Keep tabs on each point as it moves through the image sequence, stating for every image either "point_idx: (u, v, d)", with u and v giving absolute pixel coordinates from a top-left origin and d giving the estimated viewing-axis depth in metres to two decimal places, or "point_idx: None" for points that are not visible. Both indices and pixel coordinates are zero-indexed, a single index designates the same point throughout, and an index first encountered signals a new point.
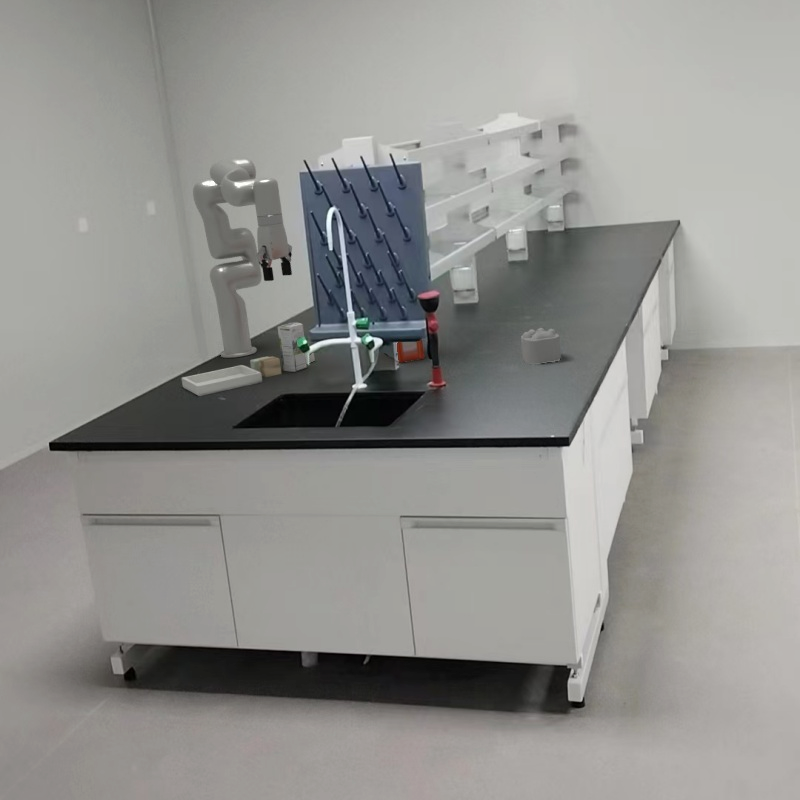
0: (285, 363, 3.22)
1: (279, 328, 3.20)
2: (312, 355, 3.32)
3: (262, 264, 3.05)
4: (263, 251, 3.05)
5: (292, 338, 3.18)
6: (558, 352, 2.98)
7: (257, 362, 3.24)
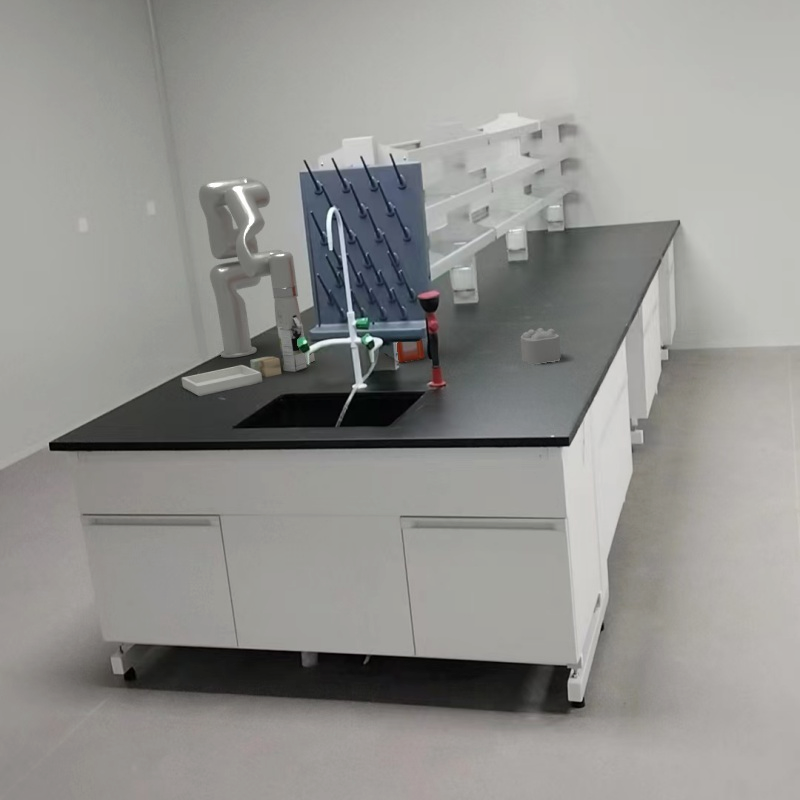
0: (285, 363, 3.22)
1: (279, 328, 3.20)
2: (312, 355, 3.32)
3: (298, 334, 3.16)
4: None
5: None
6: (558, 352, 2.98)
7: (257, 362, 3.24)
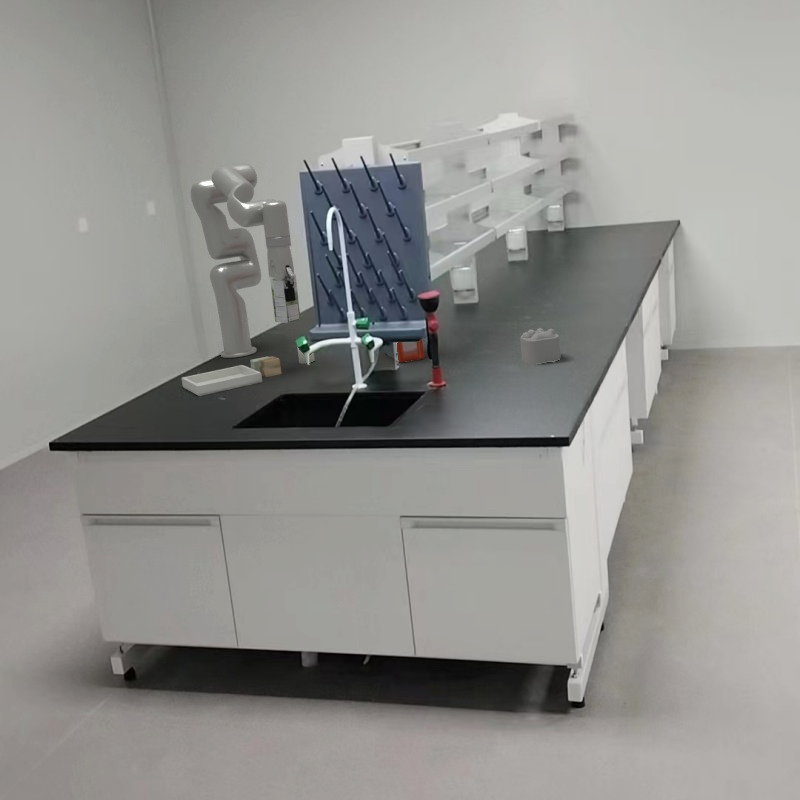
0: (278, 314, 3.19)
1: (272, 278, 3.16)
2: (312, 355, 3.32)
3: (291, 285, 3.12)
4: None
5: None
6: (558, 352, 2.98)
7: (257, 362, 3.24)
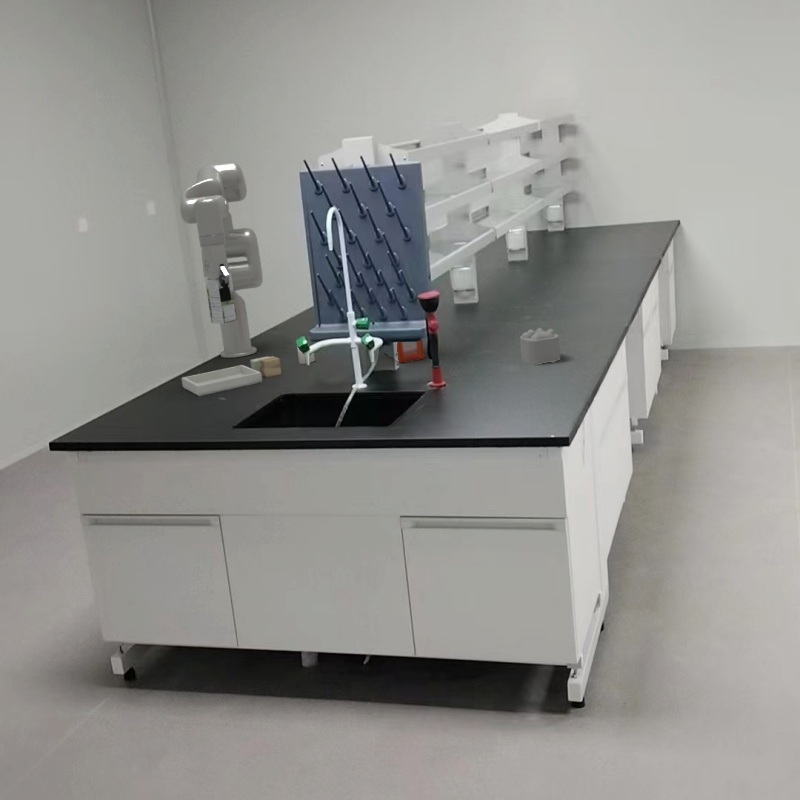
0: (213, 314, 3.09)
1: (206, 278, 3.07)
2: (312, 355, 3.32)
3: (225, 284, 3.03)
4: None
5: None
6: (558, 352, 2.98)
7: (256, 362, 3.24)
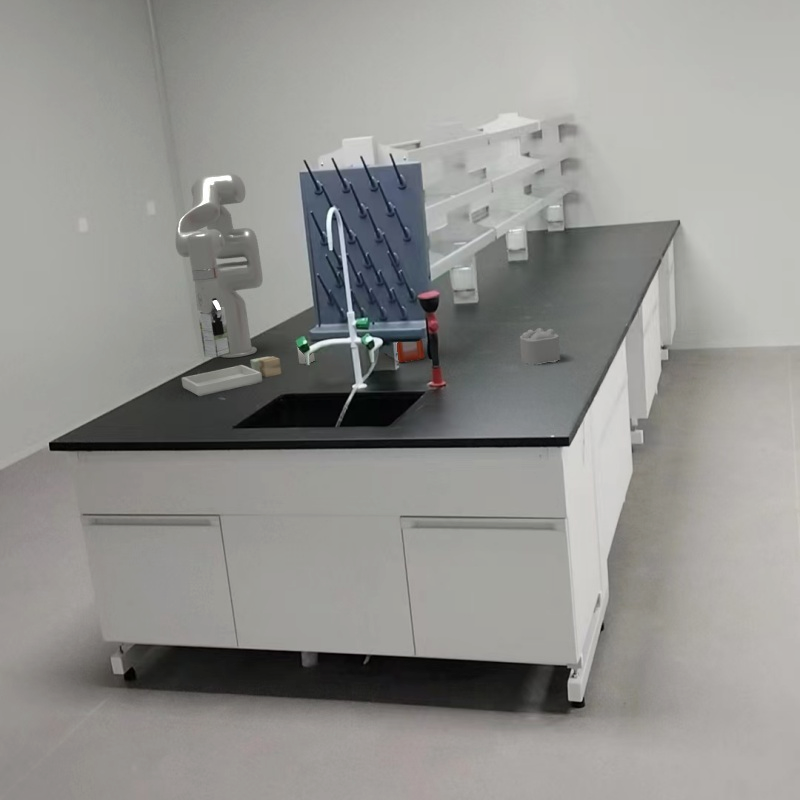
0: (206, 348, 3.10)
1: (199, 312, 3.08)
2: (312, 355, 3.32)
3: (218, 318, 3.04)
4: None
5: (212, 322, 3.06)
6: (557, 352, 2.98)
7: (256, 362, 3.24)
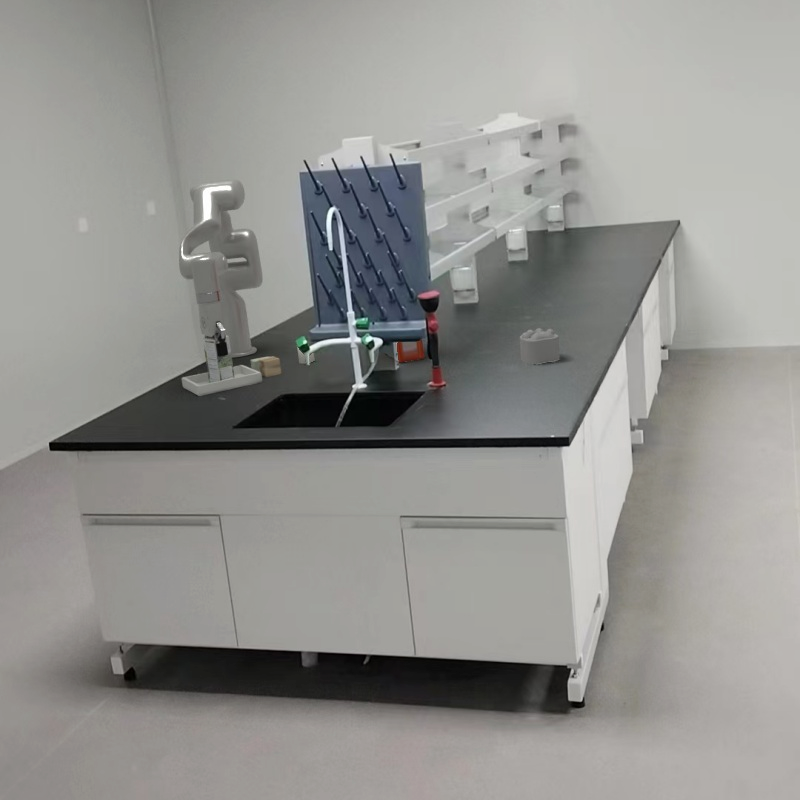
0: (211, 376, 3.12)
1: (204, 340, 3.10)
2: (312, 355, 3.32)
3: (222, 339, 3.05)
4: None
5: None
6: (557, 352, 2.98)
7: (256, 362, 3.24)
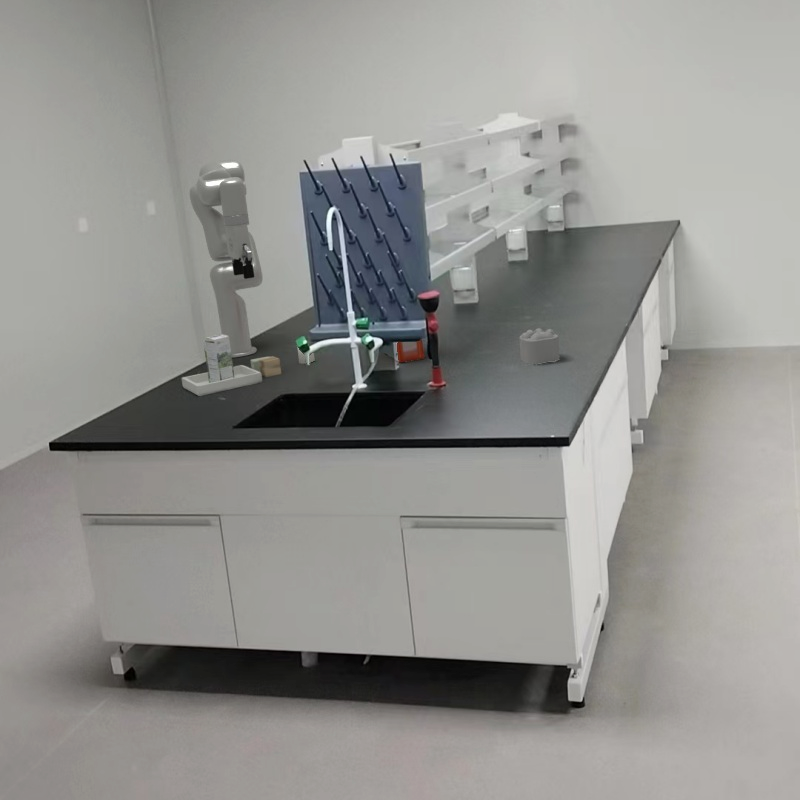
0: (211, 376, 3.12)
1: (204, 340, 3.10)
2: (312, 355, 3.32)
3: (249, 261, 3.11)
4: None
5: (217, 351, 3.08)
6: (557, 352, 2.98)
7: (256, 362, 3.24)
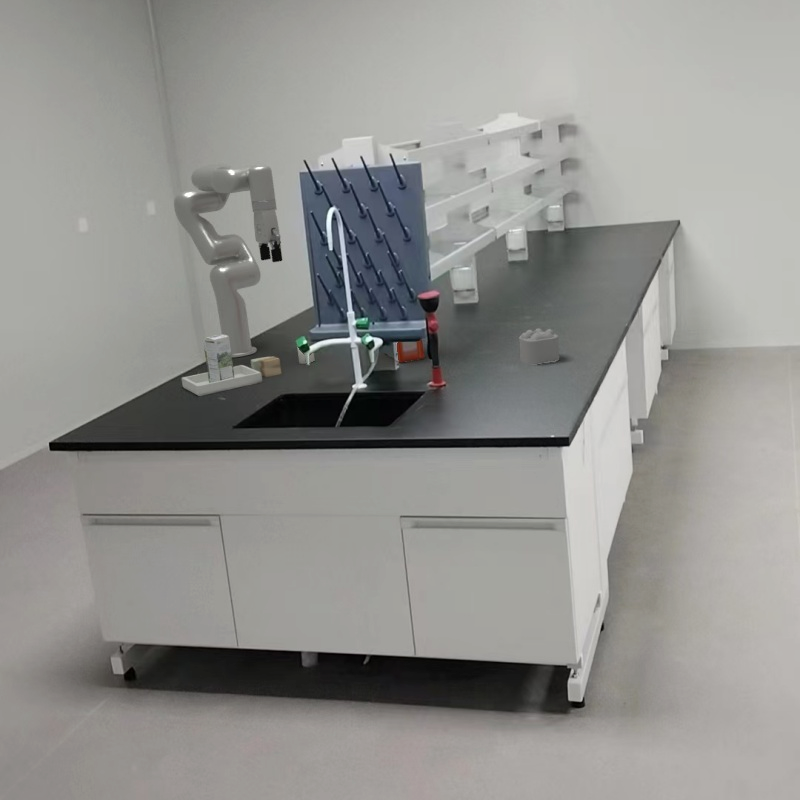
0: (211, 376, 3.12)
1: (204, 340, 3.10)
2: (312, 355, 3.32)
3: (277, 245, 3.20)
4: None
5: (217, 351, 3.08)
6: (557, 352, 2.97)
7: (256, 362, 3.24)
